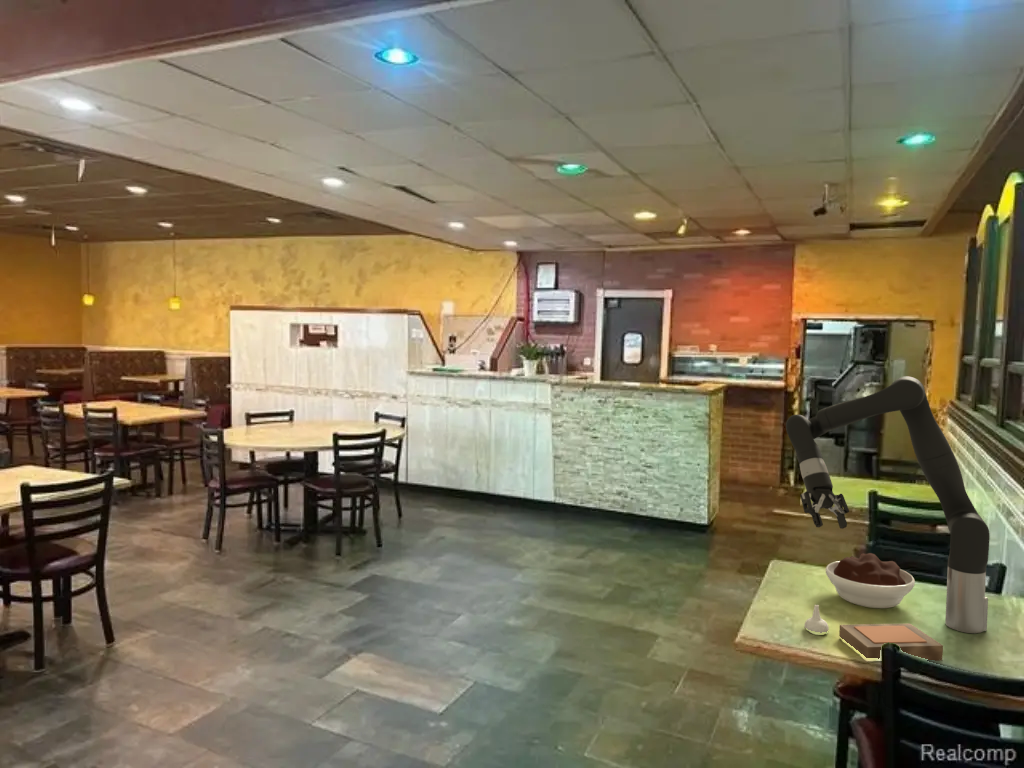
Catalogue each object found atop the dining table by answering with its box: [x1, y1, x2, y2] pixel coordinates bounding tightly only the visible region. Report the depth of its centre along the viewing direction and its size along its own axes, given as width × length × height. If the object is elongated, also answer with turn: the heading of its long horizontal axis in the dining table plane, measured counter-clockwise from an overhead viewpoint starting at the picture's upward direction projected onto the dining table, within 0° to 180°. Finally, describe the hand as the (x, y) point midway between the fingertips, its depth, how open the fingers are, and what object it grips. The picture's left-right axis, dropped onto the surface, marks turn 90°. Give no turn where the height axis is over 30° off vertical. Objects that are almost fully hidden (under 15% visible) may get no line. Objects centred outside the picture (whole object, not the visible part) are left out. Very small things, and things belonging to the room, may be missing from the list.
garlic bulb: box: [804, 604, 830, 633], centre depth 198 cm, size 6×6×8 cm
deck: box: [838, 623, 944, 662], centre depth 186 cm, size 20×14×4 cm
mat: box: [854, 626, 927, 643], centre depth 186 cm, size 14×10×1 cm
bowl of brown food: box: [825, 552, 916, 609], centre depth 220 cm, size 25×25×15 cm
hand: (831, 527), depth 204 cm, fingers open, 8 cm apart
